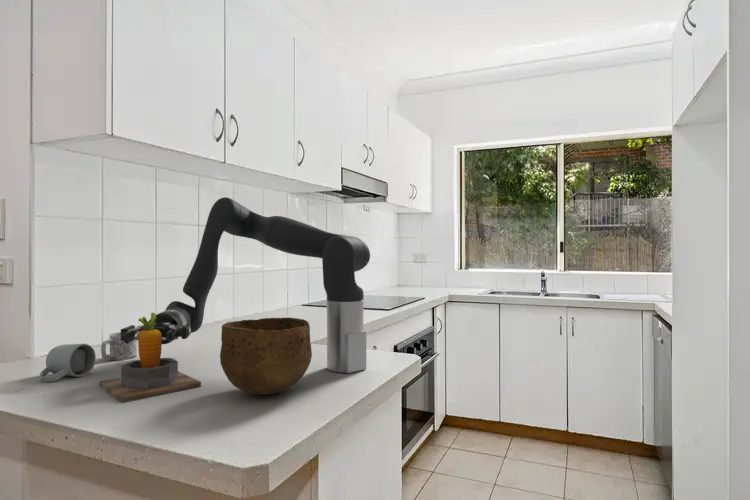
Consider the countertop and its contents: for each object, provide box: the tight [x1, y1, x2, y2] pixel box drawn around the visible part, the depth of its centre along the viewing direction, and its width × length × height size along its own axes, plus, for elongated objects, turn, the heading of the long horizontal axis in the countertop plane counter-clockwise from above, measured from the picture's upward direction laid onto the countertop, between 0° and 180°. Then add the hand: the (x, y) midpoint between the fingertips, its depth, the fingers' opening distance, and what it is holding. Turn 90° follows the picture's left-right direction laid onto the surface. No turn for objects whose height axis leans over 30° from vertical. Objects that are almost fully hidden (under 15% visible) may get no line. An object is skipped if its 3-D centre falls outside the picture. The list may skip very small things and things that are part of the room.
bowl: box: [219, 317, 313, 396], centre depth 102 cm, size 19×19×15 cm
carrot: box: [137, 312, 163, 368], centre depth 107 cm, size 5×5×15 cm
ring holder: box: [99, 357, 202, 403], centre depth 107 cm, size 16×16×5 cm
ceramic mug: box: [39, 343, 97, 383], centre depth 115 cm, size 11×8×8 cm
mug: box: [100, 331, 138, 361], centre depth 134 cm, size 10×7×7 cm
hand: (147, 337), depth 105 cm, fingers open, 8 cm apart
